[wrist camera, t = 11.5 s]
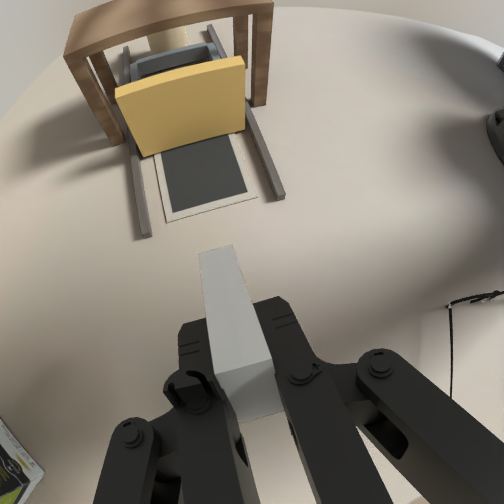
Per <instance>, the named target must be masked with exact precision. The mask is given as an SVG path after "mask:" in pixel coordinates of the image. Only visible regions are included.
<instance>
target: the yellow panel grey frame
mask: <svg viewBox="0 0 504 504" xmlns="http://www.w3.org/2000/svg"><path fill="white" fill-rule="evenodd" d="M207 58H209V60H210V61H209V62H204V63H200V64H195V65H191V66H187V67H183V68H179V69H175V70H172V71H168V72H164V73H161V74H157V75H154V76H151V77H147V78H144V79H141V76H143V75H146V74H149V73H153V72H156V71H160V70H163V69H167V68H170V67H174V66H178V65H182V64H186V63H190V62H194V61H198V60H203V59H207ZM130 73H131V83H129V84H126V85H123V86H120V87H118V88H115V99H116V101H117V103H118V106H119V108H120V110H121V112H122V114H123V116H124V118H125V120H126V122H127V124H128V127H129V129H130V131H131V133H132V135H133V137H134V139H135V141H136V143H137V145H138V147H139V149H140V151H141V153H142V155H143V157H146V156H149V155H152V154H156V153H159V152H162V151H165V150H169V149H172V148H175V147H179V146H182V145H186V144H189V143H193V142H197V141H200V140H204V139H208V138H212V137H216V136H220V135H224V134H228V133H232V132H237V131H241V130H245V63H244V61H243V59H242V57H241V55H240V56H234V57H229V58H224V59H221V58H220V56H219V53H218V51H217V49H216V47H215V44H214V42H212V43H206V42H203V43H199V44H194V45H190V46H185V47H181V48H177V49H173V50H170V51H166V52H162V53H159V54H155V55H152V56H148V57H145V58H142V59H139V60H137V62H135V63H132V64H130Z"/></svg>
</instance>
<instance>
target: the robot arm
mask: <svg viewBox="0 0 504 504" xmlns="http://www.w3.org/2000/svg"><path fill="white" fill-rule="evenodd" d="M487 131H488V135H489V138H490V140H491V143H492V145H493V147H494V149H495V151H496V153H497V154H498V156H499V158H500V159H501V161H502V162H503V164H504V106H503V107H501V108H499V109H497V110H495V111H494V112H493V113H492V115H491V116H490V117H489V118H488V120H487ZM198 257H199V266H200V274H201V283H202V291H203V298H204V306H205V313H206V318H203V319H200V320H196V321H192V322H188V323H185V324H183V325H182V327H181V329H180V331H179V334H178V347H179V348H178V354H179V370H177V371H176V372H174V373H173V374H172V375H171V376H169V378H168V379H167V381H166V382H165V384H164V388H163V393H164V394H165V396H166V397H167V398H168V400H169V401H170V402H171V404H172V405H173V406H174V407H173V408H172V409H171V410H170V411H169V412H167V413H166V414H164V415H162V416H160V417H158V418H156V419H154V420H152V421H150V422H147V421H146V420H145V419H142V418H138V417H135V418H129V419H126V420H124V421H122V422H121V423H120V424H119V425H118V426H117V427H116V428H115V430H114V432H113V434H112V437H111V440H110V444H109V447H108V450H107V454H106V457H105V460H104V464H103V468H102V471H101V475H100V478H99V482H98V486H97V490H96V493H95V497H94V501H93V504H260V500H259V496H258V493H257V489H256V485H255V481H254V478H253V474H252V470H251V466H250V462H249V458H248V454H247V450H246V446H245V442H244V438H243V436H242V434H241V432H240V430H239V425H238V422H239V423H242V422H246V421H250V420H254V419H257V418H261V417H265V416H268V415H271V414H275V413H278V412H282V411H285V413H286V416H287V420H288V423H289V427H290V431H291V435H292V436H293V438H294V441H295V444H296V447H297V450H298V453H299V455H300V458H301V461H302V464H303V467H304V470H305V472H306V475H307V478H308V481H309V483H310V486H311V489H312V492H313V495H314V497H315V500H316V503H317V504H393V502H392V499H391V497H390V495H389V493H388V491H387V489H386V487H385V485H384V483H383V481H382V479H381V477H380V475H379V473H378V471H377V469H376V467H375V465H374V463H373V461H372V458H371V456H370V454H369V452H368V450H367V448H366V446H365V444H364V442H363V440H362V438H361V436H360V434H359V432H358V430H357V428H356V426H357V427H358V428H359V429H360V430H361V431H362V432H363V434H364V435H365V436H366V437H367V438H368V439H369V440H370V441H371V442H372V443H373V444H374V445H375V447H376V448H377V449H378V450H379V451H380V452H381V453H382V454H383V455H384V456H385V457H386V458H387V459H388V460H389V461H390V463H391V464H392V465H393V466H394V467H395V468H396V469H397V470H398V471H399V472H400V473H401V474H402V475H403V476H404V477H405V478H406V479H407V480H408V481H409V482H410V483H411V485H412V486H413V487H414V488H415V489H416V490H417V491H418V492H419V493H420V494H421V495H422V496H423V497H424V498H425V499H426V500H427V501H428V502H429V503H430V504H504V443H503V442H502V441H501V440H500V439H498V438H497V437H496V436H495V435H494V434H493V433H491V432H490V431H489V430H488V429H487V428H486V427H484V426H483V425H482V424H481V423H480V422H479V421H477V420H476V419H475V418H474V417H473V416H471V415H470V414H469V413H468V412H467V411H466V410H464V409H463V408H462V407H461V406H460V405H458V404H457V403H456V402H455V401H454V400H453V399H451V398H450V397H449V396H448V395H447V394H445V393H444V392H443V391H442V390H441V389H439V388H438V387H437V386H436V385H435V384H433V383H432V382H431V381H430V380H429V379H427V378H426V377H425V376H424V375H423V374H421V373H420V372H419V371H418V370H417V369H415V368H414V367H413V366H412V365H411V364H409V363H408V362H407V361H406V360H405V359H403V358H402V357H401V356H400V355H399V354H397V353H395V352H393V351H392V350H388V349H383V348H381V349H373V350H371V351H369V352H366V353H365V354H364V355H363V356H362V357H361V358H360V359H359V361H358V363H351V364H330V363H326V362H324V361H322V360H320V359H319V358H318V357H316V355H315V354H314V352H313V351H312V349H311V347H310V345H309V343H308V341H307V339H306V337H305V335H304V333H303V331H302V329H301V327H300V325H299V323H298V321H297V319H296V317H295V315H294V313H293V311H292V309H291V307H290V305H289V303H288V302H286V301H285V300H284V299H282V298H281V297H279V296H277V297H274V298H270V299H267V300H264V301H260V302H257V303H253V304H252V301H251V298H250V295H249V292H248V289H247V286H246V283H245V280H244V277H243V275H242V272H241V269H240V266H239V263H238V260H237V257H236V254H235V251H234V248H233V245H228V246H225V247H221V248H218V249H214V250H211V251H207V252H204V253H200V254H198ZM237 420H238V421H237Z"/></svg>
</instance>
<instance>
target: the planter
mask: <svg viewBox="0 0 504 504" xmlns="http://www.w3.org/2000/svg"><path fill="white" fill-rule="evenodd" d="M497 66H498V67H499V68H500V69H501V70H503V71H504V52H503V54H502V56H501V57H500V59H499V61H498V62H497Z"/></svg>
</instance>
